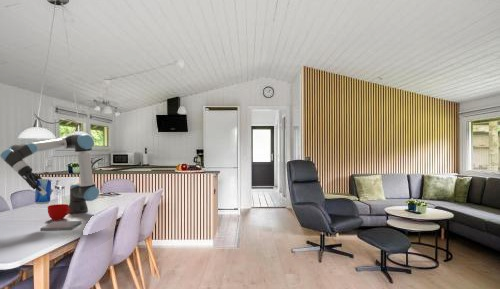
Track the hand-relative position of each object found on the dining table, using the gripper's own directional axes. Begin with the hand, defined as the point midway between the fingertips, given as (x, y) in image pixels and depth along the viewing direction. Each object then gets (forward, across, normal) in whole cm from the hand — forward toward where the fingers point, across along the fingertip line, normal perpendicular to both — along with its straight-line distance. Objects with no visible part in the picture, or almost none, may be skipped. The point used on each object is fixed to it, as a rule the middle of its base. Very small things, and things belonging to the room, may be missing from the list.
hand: (48, 193), depth 197 cm
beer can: (+3, 0, -7) cm, 8 cm away
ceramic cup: (+15, -22, -17) cm, 31 cm away
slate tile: (+22, 0, -9) cm, 24 cm away
